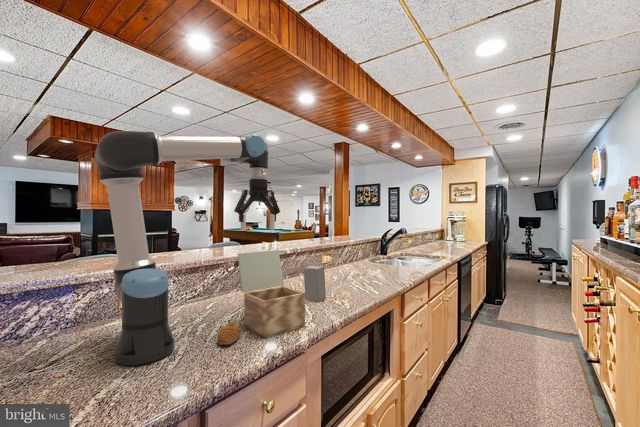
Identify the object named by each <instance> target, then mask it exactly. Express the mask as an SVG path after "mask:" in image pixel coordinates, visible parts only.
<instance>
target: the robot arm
mask: <svg viewBox="0 0 640 427" xmlns="http://www.w3.org/2000/svg"><path fill="white" fill-rule="evenodd" d="M221 159H222V161H225V162H230V163H231V162H232V163H240V164H241V163H242V164H247V165H248V164H249V178H250V179H249V182H248V183H249V186H248V187H249V189H242V191H241V195H240V198H239V200H238V202H237V203H236V206H235V208H234V209H233V211H234V212H235V213H236V214H238V222H240V231H246V227H247V226H246V220H247V218H246V213H245V212H247V210H248V209H249V207H250V206H251V205H252V203H254V202H262V203H263V204H264V206H266V208H267V210H268V211H269V213H270V214H269V230H274V231H275V226H276V225H275V222H276V221H277V215H278V214H280V213H281V210H280V207H279V204H278V203H277V200H276V198H275V191H268V186H269V182H268V181H269V180H268V177H269V176H268V175H269V174H268V173H269V170H268V169H269V168H268V167H269V145H268V143H267V142H266V140H265V139H264V138H263V137H262V136H261V135H259V134H257V133H255V134H250V135H246V136H236V135H234V136H233V135H230V136H225V135H224V136H223V135H217V136H216V135H159V134H157V133H156V132H155V131H140V130H138V131H137V130H136V131H135V130H116V131H115V130H114V131H112V132H108V133H106V134H104V135H103V136H102V137H101V138H100V140H99V141H98V143H97V146H96V148H95V151H94V162H95V163H96V165H97V170H98V176H99V177H98V178H99V182H100V183H102V184H103V185H104V186H105V187H106V190H107V195H108V197H107V198H108V202H109V208H110V209H109V210H110V216H111V222H112V229H113V236H114V242H115V249H116V255H117V263H116V264H115V265H114V266H113V268H112V269H113V275H114V282H115V283H114V292H115V295H116V296H117V298H118V299H119V301H120V303H121V331H120V334H119V336H118V339H117V341H116V345H115V347H114V350H113V361H114V362H115V363H116V364H118V365H122V366H138V365H144V364H149V363H152V362H155V361H158V360H160V359H161V360H162V359H163V358H165V357H167V356H169V355H170V354H171V353H172V352H173V351H174V350H175V338H174V334H173V332H172V329H171V327H170V324H169V287H170V281H169V275H168V273H167V272H166V271H164V270H162V269H157V265H156V260H155V259H153V258H152V257H150V254H149V245H148V240H147V233H146V226H145V218H144V212H143V204H142V197H141V190H140V184H141V183H142V181H144V173H143V167H148V166H157V165H160V164H161V163H162V162H174V161H194V160H195V161H198V160H221ZM248 195H249V198H247V197H248ZM267 196H268V197H267ZM246 199H247V201H246ZM245 201H246V202H245Z"/></svg>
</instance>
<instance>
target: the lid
mask: <svg viewBox="0 0 640 427" xmlns="http://www.w3.org/2000/svg"><path fill="white" fill-rule="evenodd" d="M237 259H238V267H239V269H238V270H239V276H240V284H241V291H242V293H249V292H254V291H260V290H265V289H270V288H276V287H281V286H285V282H284V276H283V269H282V264H281V256H280V250H279V249H277V250H266V251H265V250H264V251H263V250H262V251H254V252H253V251H252V252H241V253H240V252H239V253H237Z"/></svg>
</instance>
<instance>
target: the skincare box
mask: <svg viewBox="0 0 640 427" xmlns="http://www.w3.org/2000/svg"><path fill="white" fill-rule="evenodd" d="M303 277H304V278H303V279H304V281H303V282H304V293H305V301H314V302H321V301H323V300H326V297H327V295H326V294H327V293H326V292H327V291H326V274H325V266H324V265H321V266H319V265H308V266H306V267H303Z"/></svg>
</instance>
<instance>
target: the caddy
mask: <svg viewBox="0 0 640 427" xmlns="http://www.w3.org/2000/svg"><path fill="white" fill-rule="evenodd" d="M243 295H244V298H243V300H244V301H243V304H244V305H243V308H244V309H243V310H244V312H243V317H244V318H243V325H244V326H243V327H244V328H246V329H248V330H249V331H251V333H252V332H253V334H255V335H257V336H259V337H260V338H262V339H263V340H264V339H267V338H272V337H274V336H277V335H281V334H285V333H287V332H290V331H294V330H297V329H300V328H304V327H306V299H305V292H302V291H300V290H296V289H293V288H291V287H288V286H285V285H283V286H277V287H272V288H266V289H261V290H255V291H250V292H244V294H243Z"/></svg>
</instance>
